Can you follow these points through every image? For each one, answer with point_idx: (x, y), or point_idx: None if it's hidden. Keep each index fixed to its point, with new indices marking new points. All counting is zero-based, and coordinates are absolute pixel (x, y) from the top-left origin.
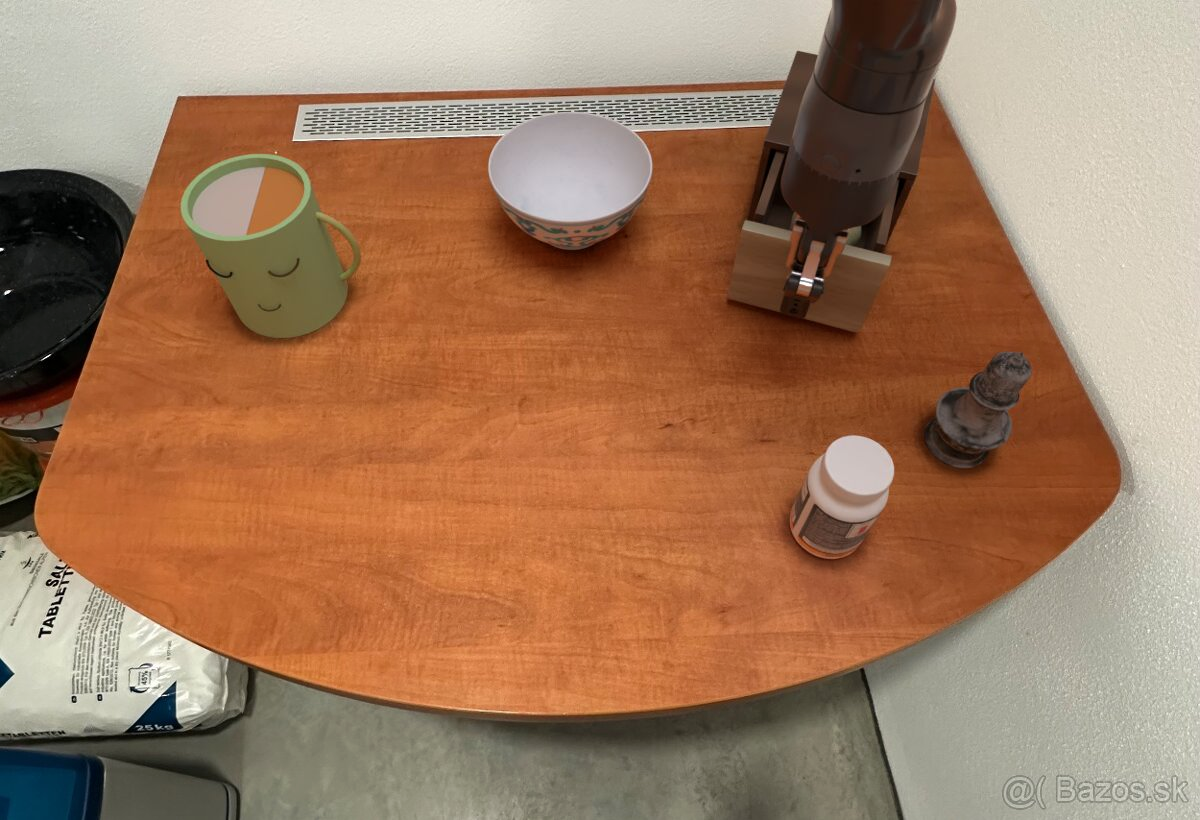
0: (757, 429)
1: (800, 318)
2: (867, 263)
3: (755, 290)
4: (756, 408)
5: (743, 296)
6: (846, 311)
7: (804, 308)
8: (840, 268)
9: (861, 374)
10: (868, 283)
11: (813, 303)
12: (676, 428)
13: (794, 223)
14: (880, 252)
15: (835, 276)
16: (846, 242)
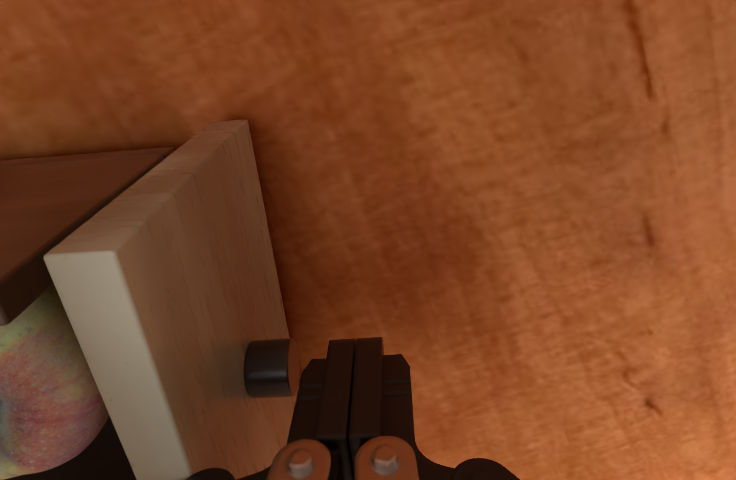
0: (620, 258)
1: (382, 340)
2: (152, 326)
3: (286, 405)
4: (562, 275)
5: (295, 401)
6: (240, 201)
7: (382, 371)
8: (201, 364)
9: (365, 68)
10: (185, 238)
11: (508, 472)
12: (654, 390)
13: (65, 462)
14: (28, 268)
15: (216, 339)
16: (20, 317)
